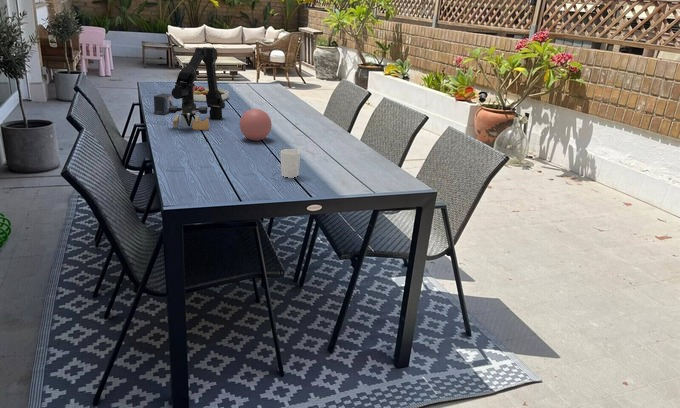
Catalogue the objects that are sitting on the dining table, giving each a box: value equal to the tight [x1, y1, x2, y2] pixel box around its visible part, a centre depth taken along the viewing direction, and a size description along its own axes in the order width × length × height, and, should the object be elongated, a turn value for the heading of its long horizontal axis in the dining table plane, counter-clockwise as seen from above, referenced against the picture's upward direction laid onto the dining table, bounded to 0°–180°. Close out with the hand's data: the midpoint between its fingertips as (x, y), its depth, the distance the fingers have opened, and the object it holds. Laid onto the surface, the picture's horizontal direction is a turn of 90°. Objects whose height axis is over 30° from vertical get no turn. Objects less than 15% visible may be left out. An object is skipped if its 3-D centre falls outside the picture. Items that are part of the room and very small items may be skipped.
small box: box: [153, 93, 174, 116], centre depth 310 cm, size 11×6×10 cm, turn 168°
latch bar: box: [192, 118, 210, 131], centre depth 279 cm, size 8×2×6 cm, turn 100°
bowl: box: [193, 84, 229, 103], centre depth 360 cm, size 30×30×8 cm
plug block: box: [180, 113, 193, 127], centre depth 289 cm, size 5×8×6 cm, turn 10°
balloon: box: [239, 108, 272, 142], centre depth 265 cm, size 15×20×15 cm
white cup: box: [280, 148, 302, 179], centre depth 214 cm, size 8×8×10 cm
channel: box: [172, 114, 200, 129], centre depth 288 cm, size 12×16×4 cm
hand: (189, 126), depth 279 cm, fingers closed
